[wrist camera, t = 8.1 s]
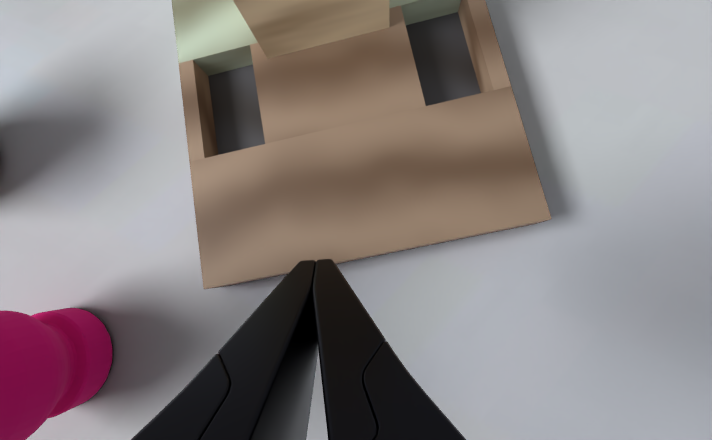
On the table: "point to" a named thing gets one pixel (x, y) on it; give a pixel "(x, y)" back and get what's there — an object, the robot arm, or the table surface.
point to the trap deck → (349, 139)
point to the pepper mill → (48, 366)
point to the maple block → (310, 22)
